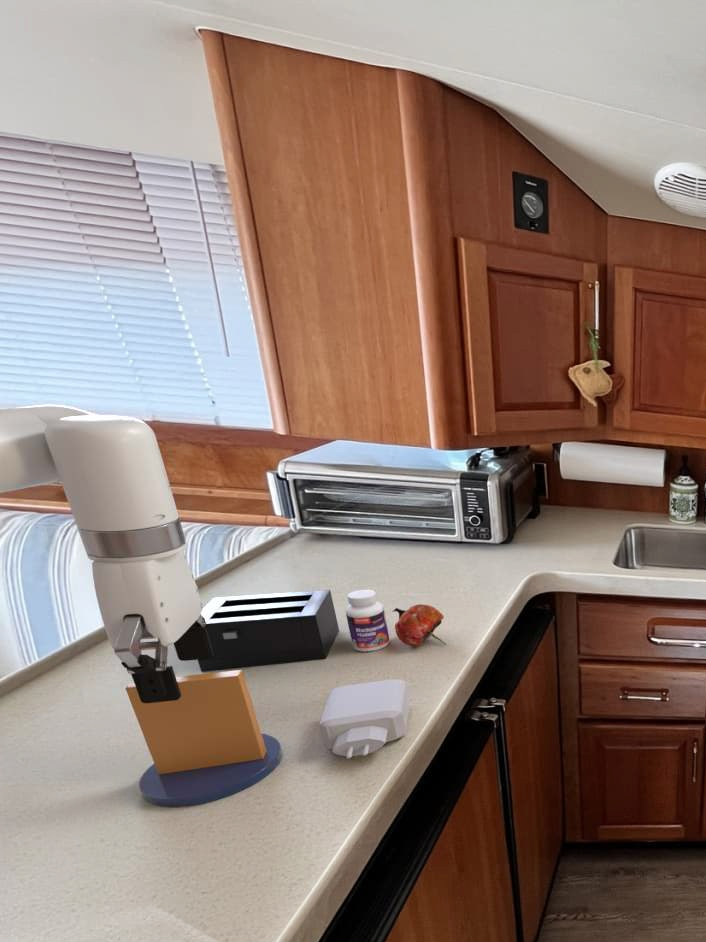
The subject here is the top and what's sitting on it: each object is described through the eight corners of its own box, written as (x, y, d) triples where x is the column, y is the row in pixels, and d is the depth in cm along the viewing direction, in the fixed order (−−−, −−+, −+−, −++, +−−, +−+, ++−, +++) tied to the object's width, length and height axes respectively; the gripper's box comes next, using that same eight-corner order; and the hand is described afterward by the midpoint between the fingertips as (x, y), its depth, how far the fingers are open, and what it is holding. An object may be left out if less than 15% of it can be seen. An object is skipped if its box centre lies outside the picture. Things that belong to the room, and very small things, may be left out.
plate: (119, 817, 70) (116, 809, 70) (169, 750, 81) (166, 742, 81) (265, 793, 76) (262, 785, 75) (294, 732, 86) (292, 725, 86)
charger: (316, 780, 78) (336, 716, 91) (402, 764, 82) (410, 705, 94) (307, 748, 76) (329, 687, 89) (396, 734, 80) (405, 677, 93)
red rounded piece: (452, 644, 117) (407, 609, 115) (467, 622, 113) (421, 585, 112) (422, 666, 110) (374, 629, 109) (437, 643, 107) (387, 604, 105)
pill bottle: (358, 655, 106) (347, 602, 103) (349, 644, 110) (337, 592, 106) (394, 646, 110) (385, 595, 106) (384, 635, 113) (374, 585, 110)
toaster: (199, 674, 97) (183, 627, 94) (226, 640, 107) (213, 597, 104) (324, 661, 104) (314, 617, 101) (339, 630, 114) (330, 589, 111)
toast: (158, 774, 75) (124, 688, 71) (164, 766, 77) (131, 681, 72) (263, 759, 79) (238, 675, 75) (267, 751, 81) (242, 669, 76)
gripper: (127, 515, 72) (169, 648, 79) (36, 568, 58) (97, 724, 65) (211, 514, 75) (245, 642, 82) (145, 564, 61) (193, 714, 68)
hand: (180, 678), depth 73 cm, fingers open, 9 cm apart
